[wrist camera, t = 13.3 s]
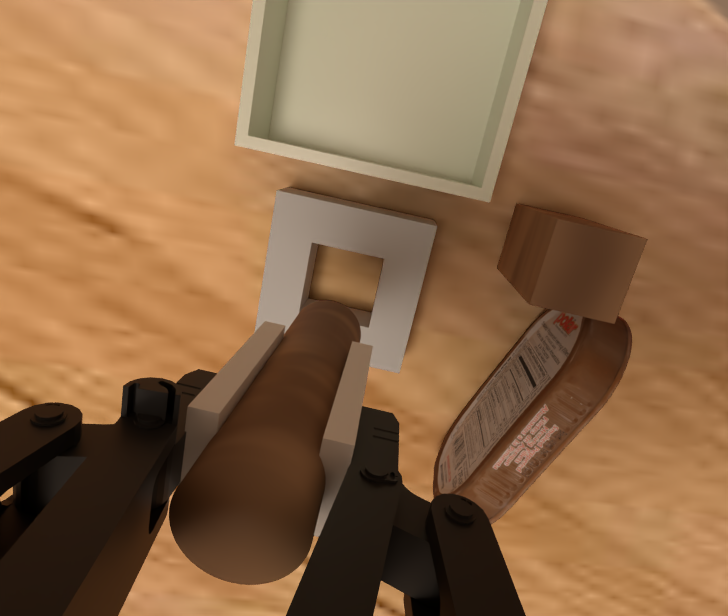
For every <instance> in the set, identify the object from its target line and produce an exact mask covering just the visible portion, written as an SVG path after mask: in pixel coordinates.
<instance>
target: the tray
mask: <svg viewBox="0 0 728 616" xmlns="http://www.w3.org/2000/svg"><path fill="white" fill-rule="evenodd" d="M547 2H548V0H253V3H252V11H251V19H250V27H249V35H248V43H247V50H246V58H245V66H244V74H243V82H242V90H241V98H240V106H239V114H238V121H237V129H236V137H235V145H236V146H240V147H244V148H249V149H253V150H258V151H262V152H267V153H271V154H276V155H280V156H285V157H289V158H293V159H298V160H302V161H307V162H311V163H316V164H320V165H325V166H329V167H333V168H338V169H342V170H347V171H351V172H356V173H360V174H365V175H369V176H374V177H378V178H382V179H387V180H391V181H396V182H400V183H405V184H409V185H414V186H418V187H422V188H427V189H431V190H436V191H440V192H445V193H449V194H454V195H458V196H462V197H467V198H471V199H476V200H480V201H485V202H489V203H490V201H491V197H492V194H493V190H494V187H495V183H496V180H497V176H498V173H499V169H500V166H501V162H502V159H503V155H504V152H505V148H506V145H507V141H508V138H509V134H510V131H511V127H512V124H513V120H514V117H515V113H516V110H517V106H518V103H519V99H520V96H521V92H522V89H523V86H524V82H525V79H526V75H527V72H528V68H529V65H530V61H531V58H532V54H533V51H534V47H535V44H536V40H537V37H538V33H539V30H540V26H541V23H542V19H543V16H544V12H545V9H546V5H547Z"/></svg>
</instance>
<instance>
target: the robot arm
mask: <svg viewBox="0 0 728 616" xmlns="http://www.w3.org/2000/svg"><path fill="white" fill-rule="evenodd" d="M284 331H285V325H280V324H276V323H272V322H267V321H265V322H264V323H263V324H262V325H261V326H260V327H259V328H258V329H257V330H256V332H255V333H254V334H253V335H252V336H251V337H250V338H249V339H248V340H247V341H246V343H245V344H244V345H243V346H242V347H241V348H240V349H239V350H238V351H237V352H236V354H235V355H234V356H233V357H232V358H231V359H230V360H229V361H228V362H227V364H226V365H225V366H224V367H223V368H222V369H221V370H220V371H219V372H218V373H213V372H209V371H204V370H200V369H198V370H196V371H193V372H190V373H188V374H185V375H184V376H183V377H182V378H181V379H180V380H179V381H178V382H177V383H174V382H173V381H170V380H166V379H163V378H151V377H150V378H140V379H136V380H133V381H130V382H128V383H127V384H125V385H124V386H123V396H122V409H121V417H120V418H119V419H118V421H117V422H116V423H115V424H105V425H103V424H82V413H81V411H80V410H79V409H78V408H76V407H74V406H72V405H69V404H63V403H56V402H55V403H53V402H52V403H45V404H39V405H34V406H32V407H29V408H26V409H24V410H22V411H20V412H18V413H16V414H14V415H12V416H10V417H8V418H6V419H5V420H3V421H1V422H0V496H2V495H3V494H4V493H5V492H6V491H7V490H8V489H10V488H11V487H13V495H11V496H10V497H8V498H7V499H6V500H3V501H0V616H118V615H119V612H120V610H121V608H122V606H123V604H124V602H125V600H126V598H127V596H128V594H129V592H130V590H131V588H132V586H133V584H134V582H135V579H136V577H137V575H138V573H139V571H140V569H141V567H142V565H143V563H144V561H145V559H146V557H147V555H148V553H149V551H150V548H151V546H152V544H153V542H154V540H155V538H156V536H157V534H158V532H159V530H160V528H161V526H162V524H163V522H164V520H165V518H166V515H167V511H168V505H169V497H170V495H171V494H172V493H173V491H174V490H175V488H176V487H177V486H179V484H180V483H181V481H182V480H183V479H184V477H185V476H186V474H187V473H188V471H189V470H190V469H191V467H192V466H193V464H194V463H195V461H196V460H197V459H198V457H199V456H200V454H201V453H202V451H203V450H204V448H205V447H206V446H207V444H208V443H209V441H210V440H211V439H212V438H213V436H214V435H215V434H217V432H218V431H219V429H220V428H221V426H222V425H223V423H224V422H225V421H226V419H227V418H228V416H229V415H230V413H231V412H232V411H233V409H234V408H235V406H236V405H237V403H238V402H239V401H240V399H241V398H242V396H243V395H244V393H245V392H246V391H247V389H248V388H249V386H250V385H251V383H252V382H253V380H254V379H255V378H256V376H257V375H258V373H259V372H260V370H261V369H262V368H263V366H264V365H265V363H266V362H267V360H268V359H269V358H270V356H271V355H272V353H273V352H274V350H275V349H276V348H277V346H278V345H279V343H280V342H281V340H282V339H283V337H284ZM372 348H373V346H371V345H367V344H362V343H358V342H354V341H352V344H351V347H350V351H349V354H348V357H347V361H346V364H345V367H344V370H343V374H342V377H341V380H340V384H339V387H338V390H337V393H336V397H335V400H334V403H333V406H332V410H331V413H330V416H329V420H328V423H327V426H326V429H325V433H324V436H323V440H322V444H321V449H320V454H319V456H320V458H321V460H322V463H323V466H324V470H325V476H326V484H325V491H324V495H323V499H322V503H321V507H320V511H319V516H318V520H317V524H316V528H315V532H314V536H318V537H319V538H318V541H317V543H316V545H315V548H314V550H313V553H312V555H311V557H310V560H309V562H308V564H307V567H306V569H305V572H304V574H303V576H302V579H301V581H300V583H299V586H298V588H297V591H296V593H295V595H294V598H293V600H292V602H291V605H290V607H289V609H288V612H287V614H286V616H373V613H374V609H375V604H376V600H377V595H378V591H379V586H380V582H381V581H383V582H385V583H387V584H389V585H391V586H392V587H394V588H396V589H398V590H400V591H401V592H403V593H404V608H405V616H526V615H525V613H524V610H523V607H522V605H521V602H520V600H519V597H518V594H517V592H516V589H515V586H514V584H513V581H512V579H511V576H510V573H509V571H508V568H507V566H506V563H505V560H504V558H503V555H502V553H501V550H500V547H499V545H498V542H497V540H496V537H495V534H494V532H493V529H492V527H491V524H490V521H489V519H488V517H487V515H486V514H485V512H484V510H483V509H482V508H481V507H479V506H478V505H477V504H476V503H475V502H473V501H471V500H470V499H468V498H466V497H463V496H460V495H456V494H445V493H444V494H441V495H438V496H436V497H435V498H434V499H433V500H432V502H431V503H430V502H428V501H426V500H424V499H422V498H420V497H418V496H416V495H414V494H413V493H412V492H410V491H409V490H408V489H407V488H406V487H405V486H404V485H403V484H402V476H401V474H400V473H399V471H398V455H399V422H398V421H397V419H396V418H395V416H394V414H393V413H389V412H385V411H381V410H376V409H372V408H368V407H364V406H362V403H363V398H364V392H365V387H366V381H367V376H368V370H369V365H370V359H371V354H372Z"/></svg>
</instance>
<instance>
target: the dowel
mask: <svg viewBox="0 0 728 616" xmlns="http://www.w3.org/2000/svg"><path fill="white" fill-rule="evenodd" d="M360 340H361V328H360V324H359V322H358V320H357V318H356V316H355V315H354V313H353V312H352V311H351V310H350V309H349V308H347V307H346V306H344V305H343V304H341V303H338V302H335V301H330V300H321V301H316V302H313V303H311V304H309V305H307V306H306V307H304V308H303V309H302V310H301V311H300V313H299V314H298V315H297V317H296V318H295V320H294V321H293V322H292V324H291V325H290V327H289V328H288V330H287V331H286V333H285V334H284V337H283V339H282V340H281V342H280V343H279V345H278V346H277V348H276V349H275V350H274V352H273V353H272V355H271V356H270V358H269V359H268V360H267V362H266V363H265V365H264V366H263V368H262V369H261V370H260V372H259V373H258V375H257V376H256V378H255V379H254V380H253V382H252V383H251V385H250V386H249V388H248V389H247V391H246V392H245V393H244V395H243V396H242V398H241V399H240V401H239V402H238V403H237V405H236V406H235V408H234V409H233V411H232V412H231V413H230V415H229V416H228V418H227V419H226V421H225V422H224V423H223V425H222V426H221V428H220V429H219V431H218V432H217V434H215V435H214V436H213V438H212V439H211V440H210V441H209V443H208V444H207V446H206V447H205V448H204V450H203V451H202V453H201V454H200V456H199V457H198V459H197V460H196V461H195V463H194V464H193V466H192V467H191V469H190V470H189V471H188V473H187V474H186V476H185V477H184V479H183V480H182V481H181V483H180V484H179V486H178V487H177V489H176V491H175V492H174V494H173V497H172V500H171V503H170V508H169V521H170V527H171V531H172V534H173V536H174V539H175V541H176V543H177V544H178V546H179V548H180V549H181V550H182V552H183V553H184V554H185V556H186V557H187V558H188V559H189V560H190V561H191V562H192V563H194V564H195V565H196V566H197V567H199V568H200V569H202V570H203V571H205V572H206V573H208V574H210V575H212V576H214V577H216V578H219V579H221V580H224V581H228V582H231V583H237V584H246V585H256V584H264V583H269V582H273V581H276V580H279V579H281V578H283V577H285V576H287V575H289V574H290V573H292V572H293V571H294V570H295V569H297V568H298V567H299V566H300V565H301V563H302V562H303V561H304V559H305V558H306V556H307V554H308V552H309V550H310V548H311V544H312V541H313V537H314V532H315V528H316V524H317V520H318V516H319V511H320V507H321V503H322V499H323V495H324V491H325V484H326V476H325V470H324V466H323V463H322V460H321V458H320V456H319V454H320V449H321V444H322V440H323V436H324V433H325V429H326V426H327V423H328V420H329V416H330V413H331V410H332V406H333V403H334V400H335V397H336V393H337V390H338V387H339V384H340V380H341V377H342V374H343V370H344V367H345V364H346V361H347V357H348V354H349V351H350V347H351V344H352V341H354V342H358V343H360Z"/></svg>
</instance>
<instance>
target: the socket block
mask: <svg viewBox="0 0 728 616" xmlns="http://www.w3.org/2000/svg"><path fill="white" fill-rule="evenodd" d="M436 230H437V225H436V223H435V221H434V220H432V219H427V218H423V217H419V216H414V215H410V214H405V213H401V212H396V211H392V210H387V209H383V208H379V207H374V206H370V205H365V204H361V203H356V202H352V201H347V200H343V199H339V198H334V197H330V196H325V195H321V194H316V193H312V192H308V191H303V190H299V189H294V188H290V187H288V188H284V189H280V190H277V192H276V198H275V205H274V211H273V218H272V224H271V231H270V237H269V243H268V250H267V256H266V263H265V269H264V275H263V282H262V288H261V295H260V301H259V308H258V314H257V320H256V327H255V332H256V330H257V329H258V328H259V327H260V326H261V325H262V324H263V323H264V322H265V321H267V322H272V323H276V324H280V325H285V331H284V334H285V333H286V331H287V330H288V328H289V327H290V325H291V324H292V322H293V321H294V320H295V318H296V317H297V315H298V314H299V313H300V311H301V310H302V309H303V308H304V307H306V306H307V305H309V304H311V303H313V302H316V301H318V300H314V299H310V298H308V297H309V291H310V286H311V281H312V275H313V270H314V265H315V259H316V254H317V249H318V244H321V245H325V246H330V247H334V248H338V249H343V250H347V251H352V252H356V253H361V254H365V255H369V256H374V257H378V258H383V259H384V261H383V266H382V270H381V274H380V279H379V283H378V287H377V292H376V296H375V300H374V305H373V309H372V313H371V312H367V311H363V310H358V309H354V308H349V307H347V308H349V309H350V310H351V311H352V312H353V313H354V315H355V316H356V318H357V320H358V322H359V324H360V328H361V340H360V343H362V344H367V345H371V346H373V348H372V354H371V359H370V365H369V367H374V368H378V369H382V370H387V371H391V372H396V373H400V369H401V365H402V361H403V357H404V353H405V349H406V346H407V342H408V338H409V334H410V330H411V326H412V322H413V319H414V315H415V311H416V307H417V303H418V299H419V295H420V291H421V288H422V284H423V280H424V276H425V272H426V268H427V264H428V261H429V257H430V253H431V249H432V245H433V241H434V237H435V233H436Z"/></svg>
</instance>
